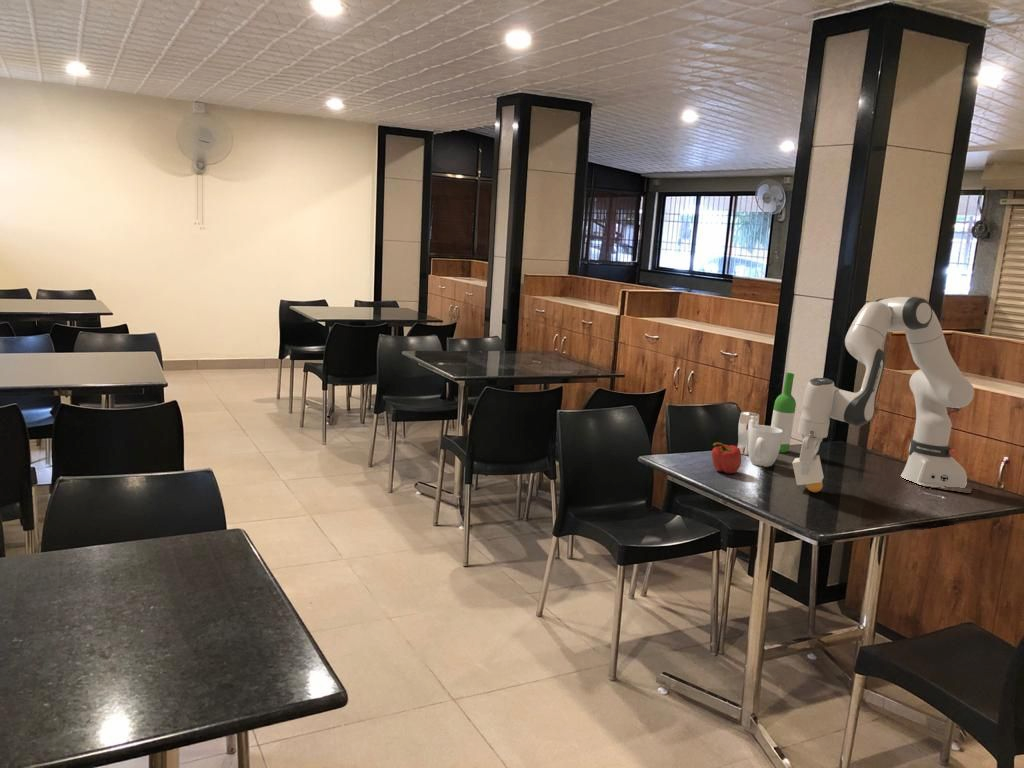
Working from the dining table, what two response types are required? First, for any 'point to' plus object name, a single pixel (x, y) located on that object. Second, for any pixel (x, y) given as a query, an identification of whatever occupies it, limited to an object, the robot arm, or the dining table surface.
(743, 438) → the beer glass
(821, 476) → the white cube
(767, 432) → the mug
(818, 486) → the ball
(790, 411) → the wine bottle
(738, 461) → the vegetable
